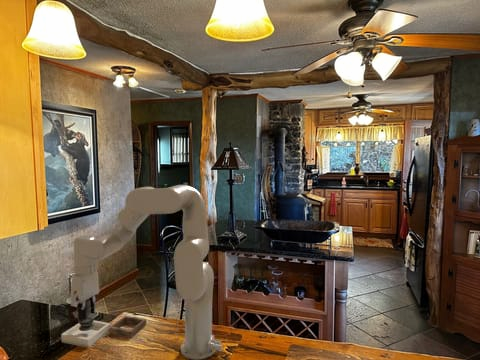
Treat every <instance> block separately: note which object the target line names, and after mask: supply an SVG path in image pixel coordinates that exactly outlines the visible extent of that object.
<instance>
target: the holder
mask: <svg viewBox="0 0 480 360" xmlns="http://www.w3.org/2000/svg"><path fill="white" fill-rule="evenodd" d="M125 324H130V325H135V326H134V327H132V329H126V328H122V326H124V325H125ZM146 326H147V319H146V318H141V317H135V316H130V315H124V316H122V317H121V318H119V320H118V321H116V322H114V323H113V324H111V327H110V328H109V332H108V333H109V335H113V334H114V335H113V336H119V337H124V338H129V339H133V338H135V336H136V335H137V334H138V333H140V331H142V329H144V328H145V327H146Z"/></svg>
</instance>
